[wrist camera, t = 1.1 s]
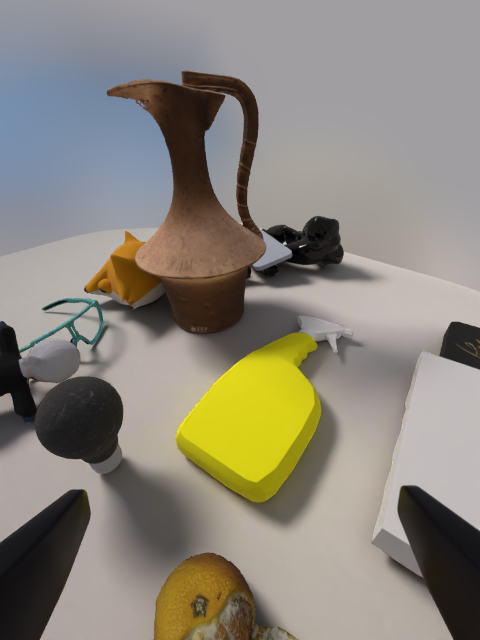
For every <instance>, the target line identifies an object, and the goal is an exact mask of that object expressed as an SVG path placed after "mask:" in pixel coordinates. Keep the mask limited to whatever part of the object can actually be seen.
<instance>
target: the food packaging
mask: <svg viewBox="0 0 480 640" xmlns="http://www.w3.org/2000/svg"><path fill="white" fill-rule="evenodd" d="M404 407H406V410H405V413H404V416H403V419H402V429H401V432H400V435H399V438H398V440H397V443H396V446H395V448H394V452H393V456H392V461H393V463H392V467H391V470H390V473H389V476H388V479H387V481H386V484H385V488H384V495H383V502H382V506H381V509H380V512H379V515H378V518H377V521H376V525H375V530H374V533H373V537H372V542H371V543H372V544H374V545H375V546H376V547H378V548H379V549H381V550H382V551H383V552H385V553H386V554H388V555H389V556H390V557H392V558H393V559H395V560H396V561H397V562H399V563H400V564H402V565H403V566H405V567H407V568H408V569H410V570H411V571H413V572H414V573H416V574H417V575H419V576H421V577H423V576H422V574H421V571H420V569H419V566H418V564H417V561H416V559H415V556H414V554H413V551H412V549H411V546H410V544H409V541H408V539H407V537H406V534H405V532H404V529H403V527H402V524H401V522H400V519H399V516H398V512H397V506H398V499H399V492H400V488H401V486H403V485H416V486H418V487H420V488H421V489H423V490H424V491H426V492H427V493H428V494H430V495H431V496H432V497H434V498H435V499H437V500H438V501H439V502H441V503H442V504H444V505H445V506H446V507H448V508H449V509H450V510H452V511H453V512H455V513H456V514H457V515H459V516H460V517H462V518H463V519H464V520H466V521H467V522H468V523H470V524H471V525H473V526H474V527H475V528H477V529H478V530H479V531H480V370H479V369H476V368H473V367H470V366H467V365H464V364H461V363H458V362H455V361H452V360H449V359H446V358H443V357H440V356H437V355H434V354H431V353H428V352H425V351H422V353H421V355H420V357H419V359H418V361H417V363H416V367H415V370H414V373H413V376H412V383H411V386H410V389H409V392H408V395H407V398H406V401H405V406H404Z"/></svg>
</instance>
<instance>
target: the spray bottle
mask: <svg viewBox="0 0 480 640" xmlns="http://www.w3.org/2000/svg"><path fill="white" fill-rule="evenodd" d="M298 324H299V326H300V327H301V330H300V331H299V332H298V333H295V332H294V333H291V334H289V335H287V336H284V337H282V338H280V339H277V340H275V341H273V342H271V343H269V344H267V345H266V346H264V347H262V348H260V349H258V350H255V351H253V352H251V353H249V354H248V355H247V356H245V357H244V358H243V359H241V360H240V361H239V362H237V363H236V364H235V365H234V366H233V367H231V368H230V369H229V370H228V371H227V372H226V373H225V374H224V375H223V376H222V377H220V378H219V379H218V380H217V381H216V382H215V383H214V384H213V385H212V387H211V388H210V389H209V390H208V392H207V393H206V394H205V395H204V396H203V398H202V399H201V400H200V401H199V402H198V404H197V405H196V406H195V407H194V408H193V410H192V411H191V412H190V413H189V415H188V416H187V417H186V418H185V419H184V421H183V422H182V423H181V424H180V426H179V427H178V430H177V434H176V438H175V439H176V442H177V446H178V449H179V450H180V451H181V452H182V453H183V454H184V455H185V456H186V457H188V458H189V459H190V460H192V461H193V462H194V463H196V464H197V465H198V466H200V467H201V468H202V469H204V470H205V471H206V472H208V473H209V474H210V475H212V476H213V477H214V478H216V479H217V480H218V481H220V482H221V483H222V484H224V485H225V486H226V487H228V488H229V489H231V490H233V491H235V492H236V493H238V494H240V495H242V496H243V497H245V498H247V499H249V500H250V501H252V502H259V503H262V502H264V501H267V500H268V499H269V498H271V497H272V496H273V495H275V494H276V492H277V491H278V490H279V488H280V487H281V486H282V484H283V483H284V482H285V480H286V479H287V478H288V476H289V475H290V474H291V472H292V471H293V470H294V468H295V466H296V464H297V463H298V461H299V459H300V457H301V456H302V454H303V452H304V450H305V449H306V447H307V445H308V443H309V442H310V440H311V438H312V436H313V435H314V433H315V431H316V428H317V425H318V422H319V419H320V416H321V413H322V409H321V404H320V399H319V397H318V395H317V393H316V391H315V390H314V388H313V386H312V384H311V383H310V382H309V380H308V379H307V378H306V377H305V376H304V375H303V373H302V372H301V371H300V370H299V369H298V367H299V366H300V365H301V361H302V360H304V359H306V358H307V356H308V353H309V352H312V351H314V350H316V349H317V346H318V345H317V343H316V342H317V341H322V340H328V341H329V343H330V345H331V347H332V349H333V351H334V353H337V352H338V350H337V347H336V339H338V338H340V337H341V336H345V337H349V338H352V336H353V332H354V331H353V330H350V329H347V328H344V326H340V325H337V324H334V323H331V322H328V321H325V320H321V319H318V318H315V317H310V316H298ZM315 341H316V342H315Z"/></svg>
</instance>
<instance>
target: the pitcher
mask: <svg viewBox="0 0 480 640" xmlns="http://www.w3.org/2000/svg"><path fill="white" fill-rule="evenodd" d="M219 92H220V93H219ZM221 92H222V93H226V94H230V95H231V96H234V97H235V98H236V99H237V100H238V101H239V102H240V104H241V106H242V109H243V114H244V132H243V144H242V148H241V154H240V162H239V168H238V174H237V190H236V197H237V206H238V212H239V215H240V217H241V220H242V222H243V225H241V224H239V223H238V222H237V221H236V220H234V219H233V218H232V217H231V216H230V215H229V214H228V213H227V212H226V211H225V210H224V208H223V207H222V205H221V204H220V203H219V201H218V199H217V197H216V195H215V193H214V191H213V189H212V185H211V182H210V178H209V173H208V167H207V161H206V152H205V141H204V136H205V131H206V130H209V128H210V127H211V125H212V122H213V121H214V118H215V116H216V114H217V112H218V110H219V108H220V106H221V104H222V103H223V101H224V98H225V95H224V94H222V93H221ZM107 95H108V96H116V97H122V98H126V99H127V98H130V99H133V98H134V99H135V100H136V101H137V102H136V103H137V104H139V103H138V100H139V101H140V102H141V103H143V104H144V105H145V106H146V107H143V109H145V110H146V111H148V112H149V113H150V114H151V115H152V116H153V118H154V119H155V120H156V122H157V123H158V125H159V127H160V129H161V131H162V133H163V135H164V138H165V141H166V145H167V147H168V150H169V154H170V159H171V164H172V172H173V183H174V190H173V199H172V203H171V207H170V210H169V213H168V215H167V217H166V219H165V221H164V223H163V224H162V226H161V227H160V228H159V229H158V231H157V232H156V233H155V234H154V235H153V236H152V237H151V238H150V239H149V240H148V241H147V242H146V243H145V244H144V245H143V246H141V248H140V249H139V250H138V251H137V253H136V256H135V262H136V265H137V266H138V267H139V268H140V269H141V270H143V271H144V272H146V273H148V274H151V275H153V276H158V277H160V279H161V281H162V283H163V286H164V288H165V291H166V294H167V296H168V299H169V302H170V305H171V308H172V311H173V315H174V319H175V321H176V323H177V324H178V325H179V326H180V327H181V328H183V329H185V330H188V331H192V332H198V333H211V332H216V331H221V330H224V329H226V328H228V327H230V326H232V325H234V324H235V323H237V322H238V321H239V320H240V318H241V317H242V315H243V313H244V293H245V284H246V276H247V271H248V267H249V266H251V265H253V264H254V263H256V262H257V261H258V260H259V259H261V257H262V256H263V255H264V254H265V251H266V244H265V242H264V240H263V234H262V232H261V231H260V230H259V228H258V227H257V226H256V225H255V223H254V222H253V220H252V219H251V217H250V214H249V210H248V206H247V187H248V181H249V175H250V169H251V165H252V161H253V157H254V151H255V147H256V142H257V137H258V107H257V103H256V99H255V96H254V95H253V93H252V91H251V90H250V88H249V87H248V86H247V85H246V84H245V83H244V82H242V81H241V80H240V79H237V78H234V77H231V76H225V75H216V74H207V73H199V72H195V71H188V70H187V71H182V85H178V84H174V83H170V82H167V81H162V80H153V79H141V80H135V81H132V82H128V83H125V84H121V85H117V86H115V87H112V88H109V89H108V90H107ZM145 102H147V103H145ZM141 103H140V104H139V105H140V106H141Z"/></svg>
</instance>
